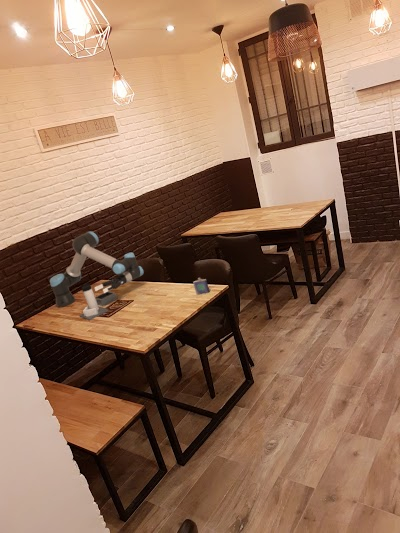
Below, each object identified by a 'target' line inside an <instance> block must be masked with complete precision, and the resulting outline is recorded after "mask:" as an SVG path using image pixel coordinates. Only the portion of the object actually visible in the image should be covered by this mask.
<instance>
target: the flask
mask: <svg viewBox="0 0 400 533" xmlns="http://www.w3.org/2000/svg"><path fill="white" fill-rule="evenodd" d="M192 282H193V283H192V284H193V287H194V289H195V293H196V295H204V294H209V293H210V287H209V285H208V282H207V279H206V278H205V279H204V278H201V277H198V278H197V280H195V281H192Z"/></svg>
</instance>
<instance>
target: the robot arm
mask: <svg viewBox="0 0 400 533" xmlns="http://www.w3.org/2000/svg"><path fill="white" fill-rule="evenodd" d="M94 232H95V231H94ZM94 232H93V231H91V230H90V231H86V232H85V233H83V234H81V235H78V236H76V237H75V238H73V241H72V245H71V246H72V248H73V250H74V252H75V254H74V256H73V258H72V261H71V264H70V265H69V266H68V267H66V270H65V272H64V273H59V274H56V275H54V276H52V277H51V278H50V279H49V283H50V287H51V289H52V291H53V294H54V296H55V305H56V307H57V308H63V307H67V306H69V305H71V304H73V303H75V301H76V297H75V296H74V294H72V292H71V291H70V287H72V286H73V285H75V284H77V283H78V282H80V281H81V279H82V272H81V270H82V268H83V266H84V263H85V261H86V259H87V258H89V259H91V260H93V261H96V262H97V263H100V264H102V265H104V266H106V267H108V268H110V269H112V272H114V274H116V275H117V278H112V279H109V280H106V281H104V282H101V283H100V284H99V285H96V286H95V287H93V289H94V291H95V292H97V291H99V290H102V292H103V293H106V292H108V291H109V292H111V291H112V290H117V289H118V288H119V287H120V286H123V285H125V284H127V283H130V282H131V281H133V280H135V279H138V278H140V277H141V276H143V275H144V272H145V270H144V269H143V267H142V266H140V265H138V264H139V263H138V262H137V259H136V256H135V254H134V252H128V253H126V254H124V255H123V257H124V258H123V259H121V260H119V259H117V258H115V257H113V256H110V255H109V254H107V253H104V252H103V251H100V250H98V249H96V248H95V246H96V245H98V244H99V242H100V241H99V237H98V235H97V234H96V233H94Z"/></svg>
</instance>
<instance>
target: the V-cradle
mask: <svg viewBox="0 0 400 533" xmlns="http://www.w3.org/2000/svg"><path fill="white" fill-rule="evenodd" d="M98 307H99V311H97V309H96V308H93V309H89V307H88V305H87V306H85V308H84V309H83V310H82V314H79V318H82V319H84V320H86V321H87V320H88V321H89V322H90V321H92V320H94V319H95V318H97V317H99V316H101V315H103V314H105V313H107V312H109V309H108V308H106V307H104V306H100V305H98Z"/></svg>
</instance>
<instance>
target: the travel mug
mask: <svg viewBox="0 0 400 533" xmlns="http://www.w3.org/2000/svg"><path fill="white" fill-rule="evenodd" d="M81 291H82V294H83V296H84V298H85V301H86V303H87V306H88V307H89V309H93V308H96V309H97V311H99V307H100V306H99V305H98V304H97V302H96V299H95V297H96V296H95V293H94V291H93V288H92V286H91V283H86V284H84V285H82V286H81ZM98 306H99V307H98Z"/></svg>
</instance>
